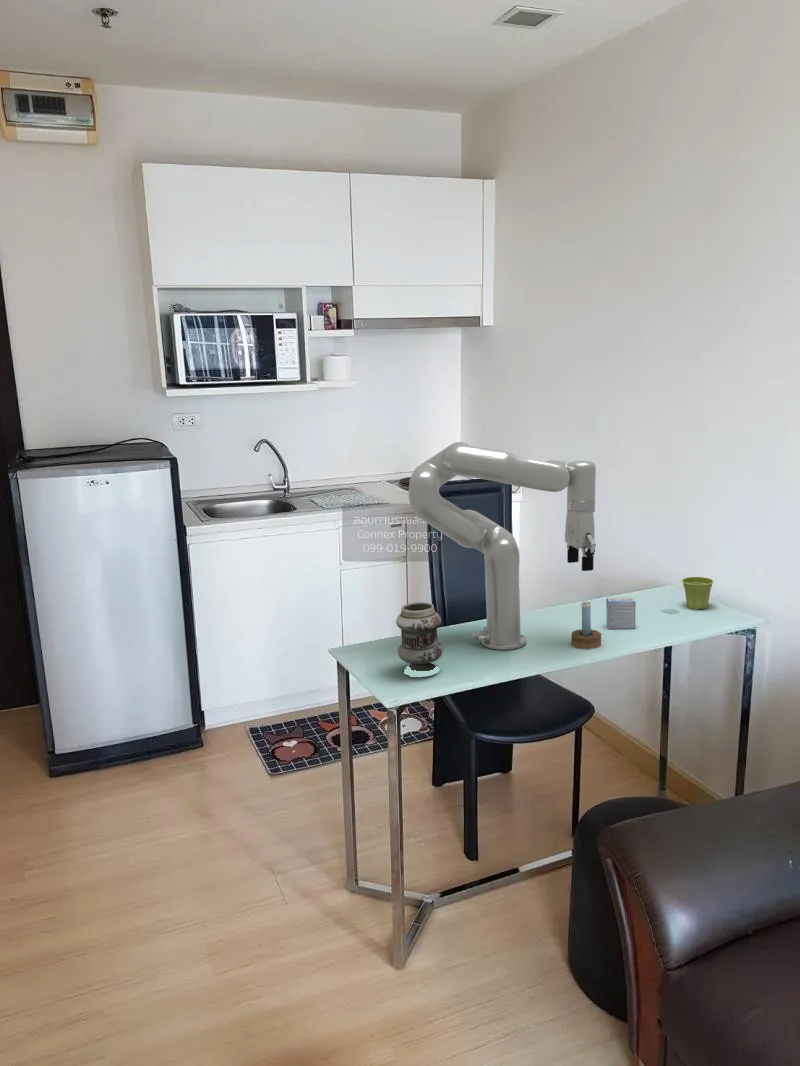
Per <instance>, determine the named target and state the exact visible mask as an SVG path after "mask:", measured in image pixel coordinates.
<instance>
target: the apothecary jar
mask: <svg viewBox="0 0 800 1066" xmlns="http://www.w3.org/2000/svg"><path fill="white" fill-rule="evenodd" d="M400 610H401V611H400V614H398V616H397V617H396V619H395V625H397V627H398V628H399V629H400V631H401V644H400V645H398V646H399V647H398V648H397V655H398V657H399V659H401V661H403V662H405V663H407V664H409V667H410V668H411V670H413V671H414V670H416V671H430V670H433V669H434V668H435V667H436V666H435V665H434V664H435V663H433V662H435V661H438V660H439V658H441V656H443V653H444V647H443V645H442V643H441V642H440V641H439V637H438V627H439V626H440V625H441V623H442V622H441V621H442V616H441V615H440V613H438V612H437V611H436V610H435V607H434V604H432V603H430V602H426V601H425V602H424V601H419V602H418V601H416V602H410V603H406V604H404V605H402V606H401V609H400ZM432 663H433V664H432Z"/></svg>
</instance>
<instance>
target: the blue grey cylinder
mask: <svg viewBox="0 0 800 1066" xmlns="http://www.w3.org/2000/svg"><path fill="white" fill-rule="evenodd" d="M591 605H592V604H591V602H590V601H582V602H581V629H582V636H591V628H592V627H591V626H592V624H591V622H592V620H591V619H592V617H591V613H592V611H591V610H592V609H591Z"/></svg>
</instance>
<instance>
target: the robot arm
mask: <svg viewBox="0 0 800 1066" xmlns="http://www.w3.org/2000/svg"><path fill="white" fill-rule="evenodd" d="M596 474H597V473H596V465H595V463H594V462H593V461H590V460H574V461H564V460H556V459H555V460H554V459H552V460H546V461H545V462H542V461H539V460H533V459H528V458H524V457H521V456H518V455H516V454H514V453H512V452H508V451H504V450H499V449H493V448H485V447H481V446H480V447H479V446H474V445H469V444H468V443H466V442H463V441H456V442H452V443H451V444H449V445H448V446H447V447H445V448H443V449H442V450H440V452H438V453H436V454H435V455H433V456H432V457H429V458H428V459H427V460H425V461H424V462H422V463H420V464H419V465H417V466H416V468H415V469H414V470H413V471H412V473H411V476H410V479H409V485H408V500H409V504H410V507H411V508H412V510H413V512H414V513H415V514H416V516H417V517H419V519H420V520H422V521H423V522H425V523H426V524H427V525H429V526H431V527H432V528H434V529H435V530H437V531H438V532H440V533H442V534H443V535H444V536H446V537H448V538H449V539H450V540H452V541H454V542H455V543H457V545H459V546H461V547H463V548H468V549H475V550H478V552H481V553H482V554H483V555H484V556H483V558H484V575H485V576H484V579H485V580H484V582H485V583H484V584H485V585H484V586H485V587H484V588H485V602H486V603H485V604H486V606H485V607H486V611H485V612H486V626H484V627H483V629H482V630H481V631H476V632H475V631H474V632H471V633H470V639H471V640H478V641H480V642H481V644H482V645H483V647H486V648H488V649H492V650H497V651H506V650H507V651H509V650H515V649H519V648H522V647H524V646H525V645H526V644H527V638H526V636H524V635H523V634H521V603H520V601H521V596H520V551H519V550H520V549H519V546H518V543H517V541H516V539H515V537H514V535H513V534H512V533H511V532H510V531H509V530H507V529H506V528H504V527H503V526H501V525H499V524H497V523H496V522H494V521H493V520H492V519H489V518H488V517H487V516H485V515H483V514H482V513H480V512H478V511H476V510H473V509H465V510H464V509H461V508H460V507H459V506H457V505H455V504H454V503H453V502H451V501H449V500H447V499H445V498H444V497H442V495H441V494H440V487H441V486H443V485H444V484H447V482H450V481H451V480H453V479H454V478H456V477H457V476H461V477H468V478H473V479H481V480H486V481H487V480H488V481H492V482H498V483H502V484H506V485H511V486H516V487H517V486H518V487H521V488H526V489H532V490H538V491H544V492H549V493H558V492H561V491H564V490H565V489H566V488H567V491H566V495H567V499H566V516H565V517H566V518H565V527H564V528H565V530H564V542H565V543H566V549H567V551H566V552H567V559H566V561H567V563H569V564H572V563H578V562H580V561H579V555H580V554H579V551H580V550H581V553H582V556H581V571H583V572H590V571H593V570H594V558H595V552H596V547H597V543H596V541H595V537H596V536H595V532H596V531H595V517H594V515H595V514H594V512H595V511H596V477H597V476H596Z"/></svg>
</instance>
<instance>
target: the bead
mask: <svg viewBox="0 0 800 1066" xmlns="http://www.w3.org/2000/svg"><path fill="white" fill-rule="evenodd" d="M570 636H571V639H570V641H571V646H573V645H574V646H576V647H575V648H577V647H580V648H579V649H581V648H587V649H586V650H592V649H591V648H593V649H597V648H599V647H601V646H602V632H600V631H599V630H595V629H591V636H582V628H581V629H576V630H574V631H572V632H571V635H570ZM574 646H573V647H574Z"/></svg>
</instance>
